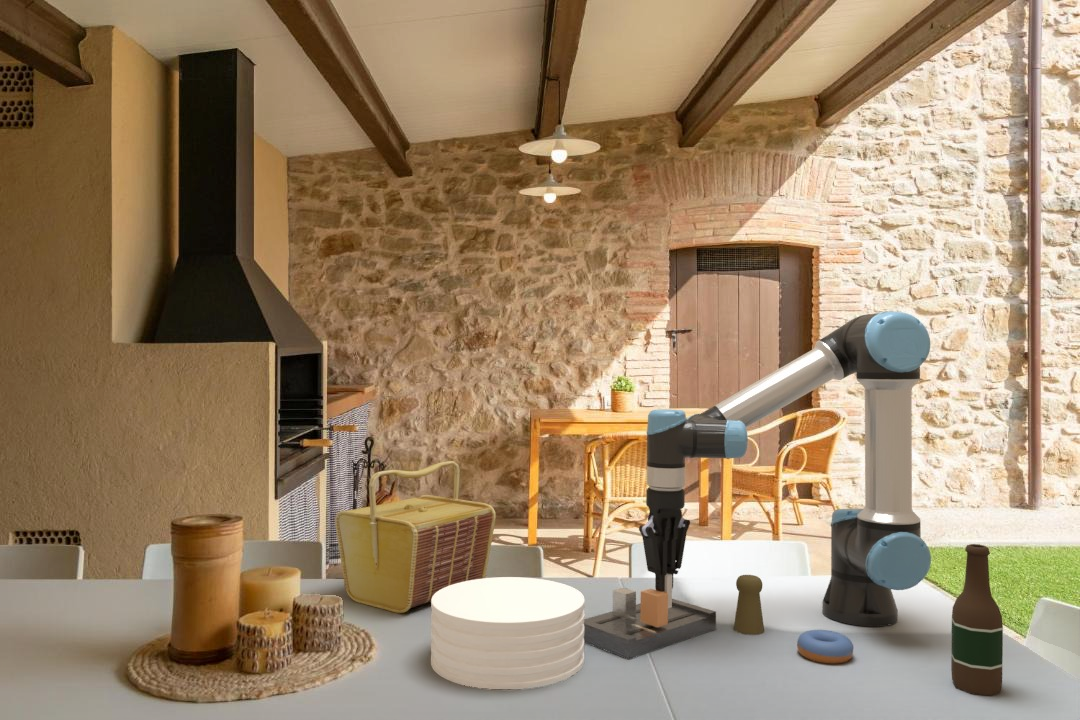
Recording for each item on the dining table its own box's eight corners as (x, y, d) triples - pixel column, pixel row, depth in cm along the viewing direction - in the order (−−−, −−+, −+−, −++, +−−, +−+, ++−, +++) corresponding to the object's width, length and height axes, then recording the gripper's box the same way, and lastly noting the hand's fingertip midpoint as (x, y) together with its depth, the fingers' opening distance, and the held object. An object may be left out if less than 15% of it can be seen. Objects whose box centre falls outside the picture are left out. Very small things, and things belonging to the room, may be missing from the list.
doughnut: (854, 667, 146) (853, 641, 147) (796, 663, 150) (794, 637, 150) (854, 654, 156) (852, 629, 156) (799, 650, 159) (798, 626, 160)
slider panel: (715, 629, 167) (716, 590, 167) (628, 659, 150) (628, 615, 150) (659, 611, 179) (660, 574, 179) (572, 637, 162) (573, 597, 162)
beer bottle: (941, 678, 142) (942, 540, 142) (983, 677, 143) (985, 540, 143) (968, 697, 135) (969, 551, 134) (1013, 696, 135) (1014, 550, 135)
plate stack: (466, 703, 132) (466, 632, 131) (410, 647, 156) (410, 587, 156) (613, 673, 144) (613, 608, 144) (540, 626, 169) (540, 570, 169)
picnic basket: (420, 572, 210) (420, 455, 210) (499, 590, 195) (500, 463, 194) (329, 599, 186) (330, 467, 186) (411, 622, 171) (412, 478, 171)
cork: (765, 635, 164) (765, 580, 164) (734, 633, 165) (734, 579, 165) (763, 626, 170) (763, 572, 170) (733, 623, 171) (733, 571, 171)
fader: (667, 624, 160) (667, 593, 160) (657, 627, 158) (657, 596, 158) (650, 618, 163) (650, 588, 163) (640, 621, 161) (640, 591, 161)
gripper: (672, 482, 169) (671, 596, 170) (628, 488, 161) (627, 608, 161) (701, 486, 164) (699, 604, 164) (657, 493, 155) (656, 617, 155)
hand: (664, 606), depth 163 cm, fingers closed
